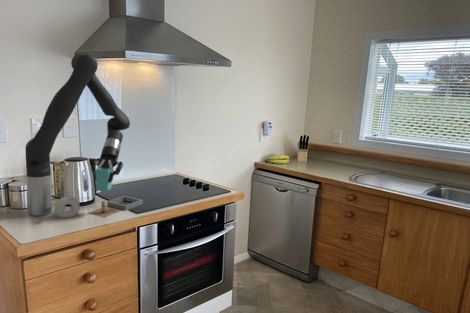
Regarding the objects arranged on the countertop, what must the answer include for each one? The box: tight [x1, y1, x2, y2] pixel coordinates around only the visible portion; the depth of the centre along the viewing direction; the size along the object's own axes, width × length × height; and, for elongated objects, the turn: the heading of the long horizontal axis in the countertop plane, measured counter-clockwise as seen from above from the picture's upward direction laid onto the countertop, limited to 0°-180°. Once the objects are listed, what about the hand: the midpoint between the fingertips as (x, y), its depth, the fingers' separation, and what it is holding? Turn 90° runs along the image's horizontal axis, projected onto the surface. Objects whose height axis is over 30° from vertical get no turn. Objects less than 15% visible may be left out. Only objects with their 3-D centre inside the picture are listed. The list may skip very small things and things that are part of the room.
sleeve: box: [95, 167, 113, 191], centre depth 155 cm, size 5×5×9 cm
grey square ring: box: [106, 195, 144, 211], centre depth 169 cm, size 12×12×4 cm
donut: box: [53, 196, 81, 218], centre depth 150 cm, size 10×4×10 cm, turn 124°
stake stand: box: [88, 200, 121, 218], centre depth 157 cm, size 10×10×6 cm
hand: (102, 181), depth 153 cm, fingers closed on sleeve, 5 cm apart
